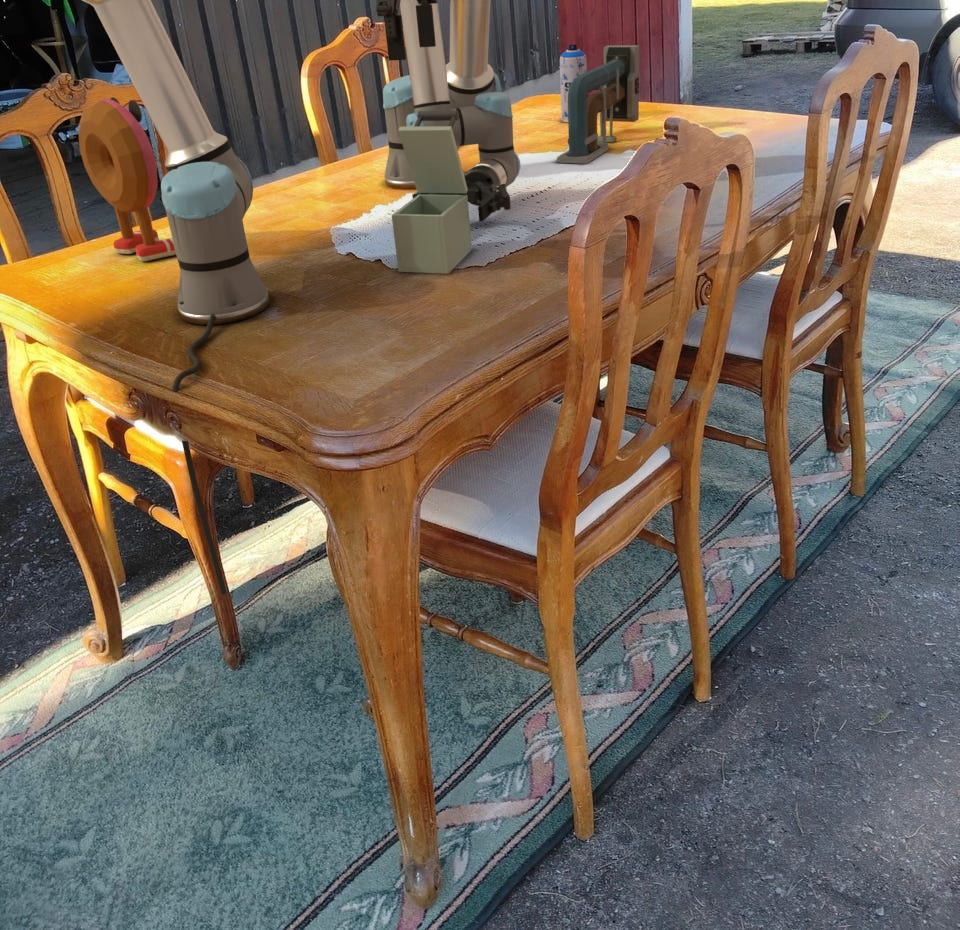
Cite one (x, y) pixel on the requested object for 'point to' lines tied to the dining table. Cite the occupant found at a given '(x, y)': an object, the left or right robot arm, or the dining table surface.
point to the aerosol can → (570, 74)
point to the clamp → (602, 103)
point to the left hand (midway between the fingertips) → (413, 53)
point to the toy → (123, 172)
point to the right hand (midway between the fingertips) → (446, 213)
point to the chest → (432, 233)
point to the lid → (434, 154)
